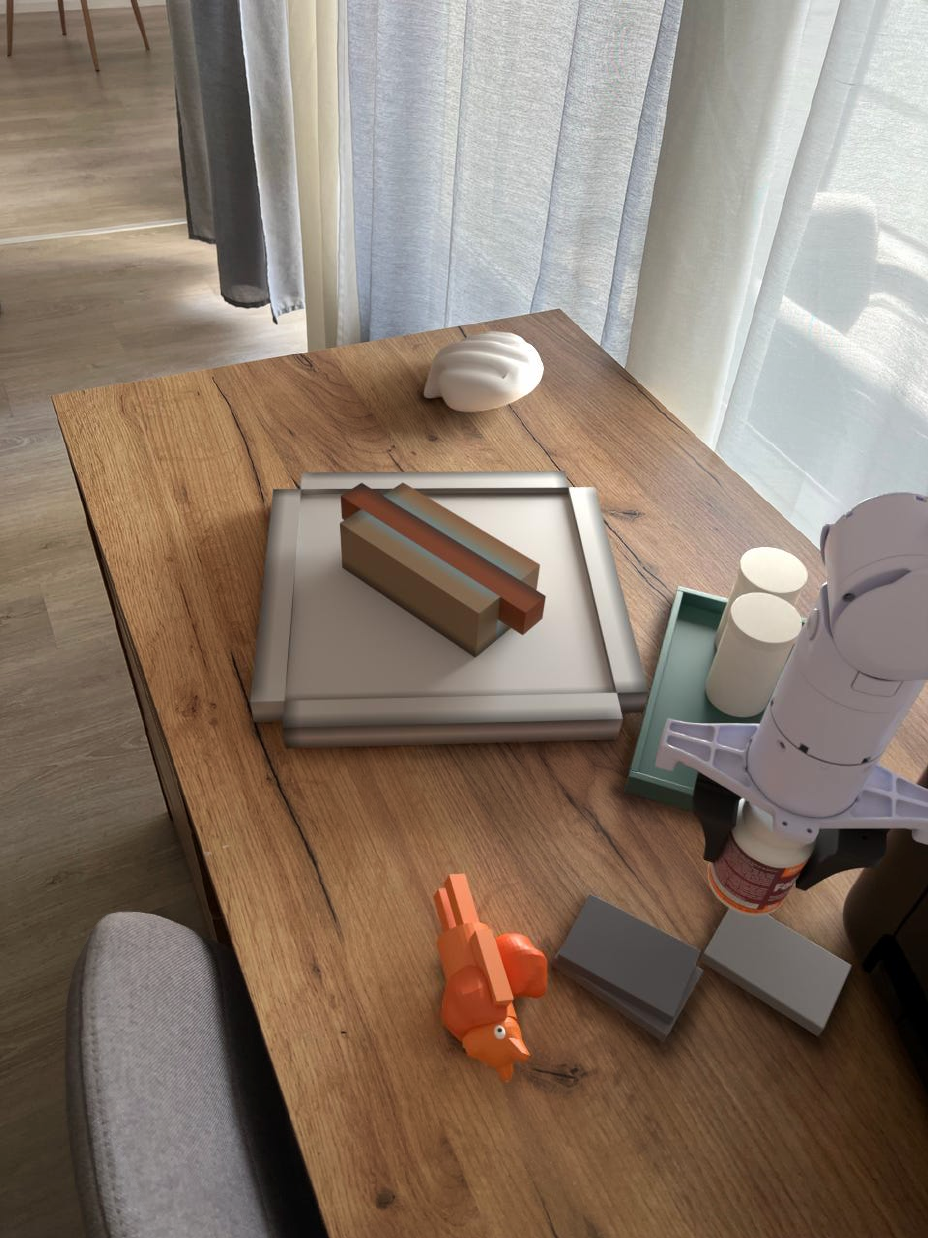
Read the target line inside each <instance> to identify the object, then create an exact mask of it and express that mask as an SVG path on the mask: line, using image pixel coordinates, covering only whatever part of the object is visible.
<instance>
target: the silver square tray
mask: <svg viewBox="0 0 928 1238" xmlns="http://www.w3.org/2000/svg"><path fill="white" fill-rule="evenodd" d="M566 473H567V472H566V471H565V470H545V471H544V470H528V471H527V470H524V471H523V470H518V471H517V470H514V471H512V470H511V471H510V470H509V471H507V470H505V471H502V470H501V471H500V470H499V471H494V470H493V471H489V470H488V471H319V472H318V471H312V472H311V471H309V472H307V471H305V472H304V471H303V472H301V479H300V488H273V489H272V495H271V503H270V504H271V506H270V515H269V523H268V531H267V532H268V534H267V542H266V543H267V544H266V551H265V562H264V570H263V578H262V579H263V580H262V587H261V588H262V589H261V599H260V605H259V606H260V607H259V615H258V624H257V625H258V627H257V634H256V644H255V653H254V664H253V672H252V681H251V690H250V698H249V703H250V709H251V714H252V720H253V723H282V726H281V727H282V736H283V742H284V748H285V749H313V748H315V749H318V748H349V747H350V748H352V747H385V746H386V747H387V746H421V745H453V744H455V745H456V744H458V745H459V744H460V745H461V744H491V743H492V744H493V743H495V744H496V743H529V742H532V743H533V742H561V741H565V742H566V741H567V742H568V741H593V740H594V741H597V740H598V741H600V740H602V741H603V740H618V738H619V735H620V731H621V726H622V724H623V720H624V719H623V718H624V717H623V714H628V713H629V714H633V713H644V712H645V708H646V704H647V700H648V697H649V693H650V689H649V687H648V683H647V679H646V675H645V671H644V668H643V664H642V661H641V657H640V653H639V649H638V645H637V641H636V637H635V634H634V630H633V626H632V622H631V619H630V615H629V611H628V607H627V604H626V600H625V599H626V598H625V596H624V592H623V587H622V585H621V581H620V575H619V573H618V569H617V565H616V561H615V558H614V554H613V550H612V546H611V542H610V537H609V535H608V531H607V527H606V523H605V520H604V516H603V513H602V508H601V506H600V501H599V497H598V493H597V489H596V487H595V486H594V487H593V486H591V487H590V486H586V487H585V486H583V487H581V486H580V487H578V486H577V487H573V486H569V482H568V478H567V474H566Z"/></svg>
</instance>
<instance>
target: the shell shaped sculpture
mask: <svg viewBox="0 0 928 1238" xmlns="http://www.w3.org/2000/svg"><path fill="white" fill-rule="evenodd" d="M543 373H544V365H543V362H542V360H541V357H540V355H539V353H538V351H537V350H536V349H535V347H533V345H531V344H530V343H527V342H526V341H525V340H524V339H523V338H522V337H521V336H519V335H516V334H514V333H512V332H506V331H496V330H488V331H486V332H484V333H475V334H472V335H468V336H467V337H464V338H463V339H461V340H459V341H456V342H452V343H450V344H448V345H445V346H444V347H442V348H441V349H440V350H439V351H438V352H437V353H436V354H435V356H434V358H433V360H432V363H431V366H430V369H429V372H428V376H427V379H426V382H425V386H424V390H423V396H424V398H426V399H435V398H436V399H437V398H442V400H443V401H444V402H445V404H446V405H447V407H449V408H450V409H452V410H454V411H456V412H461V413H473V412H484V411H490V410H496V409H499V408H501V407H505V406H507V405H510V404H512V403H514V402H516V401H518V400H519V399H521V398H524V397H526V395H528V394H529V393H530V392H532V391H533V390H534V389H535V388H536V387H537V385H539V384H540V382H541V379H542V377H543Z"/></svg>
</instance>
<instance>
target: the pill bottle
mask: <svg viewBox="0 0 928 1238" xmlns="http://www.w3.org/2000/svg"><path fill="white" fill-rule="evenodd" d="M815 845H816V839H815V840H814V842H812V843H810V844H804V843H801V842H797V841H794V840H791V839H787V838H784V837H781V836H779V835H777V834H776V833H775V831H774V830H773V817H772V816H771V815H770V814H768V813H767V812H765V811H763V810H762V809H760V808H758V807H757V806H755V805H753V804H752V803H750V802H748V801H747V800H745V799H744V798H742V799H741V800H740V801H739V807H738V814H737V821H736V826H735V827H734V828H732V830H731V831H730V832H729V833H728V835H727V836H726V838H725V839H724V841H723V844H722V847H721V850H720V853H719V856H718V859H717V861H716V862H715V863H711V862H708V865H707V879H708V880H707V881H708V884H709V886H710V889H711V891H712V893H713V894H714V896H715V897H716V898H717V899H718V900H719V901H720V902H721V903H722V904H723V905H724V906H725V907H727V908H728V909H729V908H730V909H731V910H733V911H735V912H737V913H739V914H743V915H746V916H763V915H769V914H772V913H774V912H776V911H777V910H778V909H779V908H780V907H781V905H782V904H783V903H784V901H785V899H786V898H787V897H788V895H789V893H790V891H791V890H792V889H793V887H794V886H795V885H794V884H795V882H796V880H797V878H798V877H799V875H800V873H801V872H802V870H803V868H804V866H805V865H806V863H807V861H808V860H809V858H810V856H811V855H812V853H813V852H814V849H815Z"/></svg>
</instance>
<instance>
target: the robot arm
mask: <svg viewBox="0 0 928 1238" xmlns="http://www.w3.org/2000/svg"><path fill="white" fill-rule="evenodd" d="M819 549H820V558H821V562H822V563H823V565H824V568H825V576H826V577H825V578H826V582H825V583H823V584H822V586H820V589H819V591H818V594H817V597H816V598H815V600H814V602H813V605H812V607H811V609H810V612H809V614H808V616H807V618H806V619H807V621H806V623H805V624H804V625H803V627H802V629H801V631H800V633H799V635H798V637H797V640H796V642H795V645H794V647H793V649H792V651H791V654H790V656H789V658H788V660H787V663H786V665H785V667H784V670H783V672H782V674H781V676H780V679H779V681H778V683H777V686H776V688H775V690H774V693H773V695H772V697H771V700H770V702H769V704H768V706H767V708H766V711H765V713H764V715H763V718H762V720H761V722H760V724H699V723H687V722H681V721H677V720H673V719H667V721H666V724H665V728H664V731H663V734H662V737H661V740H660V744H659V749H658V753H657V758H656V762H655V766H656V767H659V768H662V769H665V770H669V771H673V770H675V768H676V765H677V763H679V764H682V765H686V766H689V767H692V768H694V769H696V770H697V776H696V781H695V786H694V792H693V797H692V807H693V812H692V813H693V815H694V817H695V818H696V819H697V821H698V822H699V824H700V826H701V830H702V833H703V838H704V849H703V854H702V860H703V861H705V862H708V863H709V862H711V863H715V862H716V861H717V859H718V856H719V853H720V850H721V847H722V844H723V841H724V839H725V838H726V836H727V835H728V833H729V832H730V831H731V830H732V828H734V827H735V826H736V821H737V814H738V807H739V800H740V798H741V797H742V798H744V799H745V800H747V801H748V802H750V803H752V804H753V805H755V806H757V807H758V808H760V809H762V810H763V811H765V812H767V813H768V814H770V815H771V816H772V817H773V830H774V831H775V833H776V834H777V835H779V836H781V837H784V838H787V839H791V840H794V841H797V842H801V843H804V844H810V843H812V842H814V840H815V839H816V845H815V849H814V852H813V853H812V855H811V856H810V858H809V860H808V861H807V863H806V865H805V866H804V868H803V870H802V872H801V873H800V875H799V877H798V878H797V880H796V882H795V883H794V884H795V885H794V888H795V889H797V890H801V891H804V892H807V891H808V890H810V889H811V888H812V887H814V886H816V885H818V884H819V883H821V882H823V881H824V880H826V879H828V878H831V877H832V876H834V875H837V874H840V873H843V872H847V871H851V870H857V869H875V868H876V867H877V866H878V865H879V864H880V863H881V862H882V861H883V860H884V858H885V856H886V854H887V852H888V851H887V850H888V834H889V832H890V831H891V829H907V830H910V831H911V837H912V839H913V840H914V841H915V842H917V843H920V844H924V845H926V846H927V845H928V788H925V787H923V786H921V785H919V784H917V783H915V782H913V781H911V780H909V779H908V778H905V777H903V776H902V775H900V774H898V773H896V772H894V771H893V770H891V769H889V768H888V767H885V766H884V765H882V764H880V763H879V762H880V760H881V759H882V757H883V755H884V753H885V752H886V750H887V748H888V747H889V745H890V743H891V742H892V740H893V739H894V737H895V735H896V734H897V732H898V730H899V729H900V727H901V725H902V724H903V722H904V720H905V719H906V717H907V716H908V714H909V712H911V709H912V707H913V706H914V704H915V702H916V700H917V699H918V698H919V696H920V694H921V692H922V690H923V689H924V688H925V686H926V684H927V682H928V496H927V495H923V494H919V493H915V492H910V491H908V492H907V491H893V492H885V493H881V494H877V495H874V496H872V497H871V496H870V497H869V498H866V499H864V500H863V501H861V502H859V503H858V504H856V505H854V506H853V507H852V508H851V509H849V510H848V511H847V512H846V513H845V514H843V515H841V516H840V517H839V518H838V520H837V521H835V523H825V524H824V525H823V526H822V528H821V532H820V538H819Z"/></svg>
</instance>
